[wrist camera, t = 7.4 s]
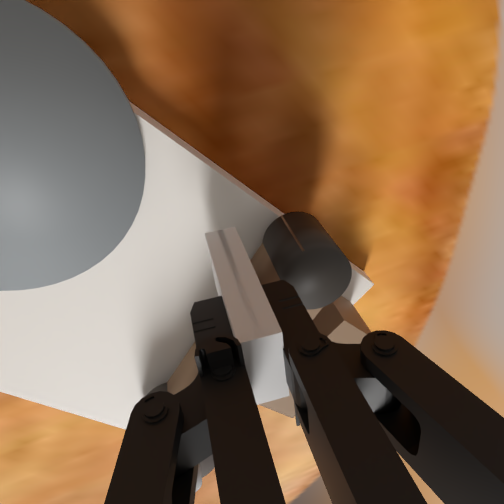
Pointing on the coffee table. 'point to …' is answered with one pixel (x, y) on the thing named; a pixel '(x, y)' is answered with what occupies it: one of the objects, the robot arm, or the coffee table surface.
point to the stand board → (107, 231)
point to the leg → (292, 271)
